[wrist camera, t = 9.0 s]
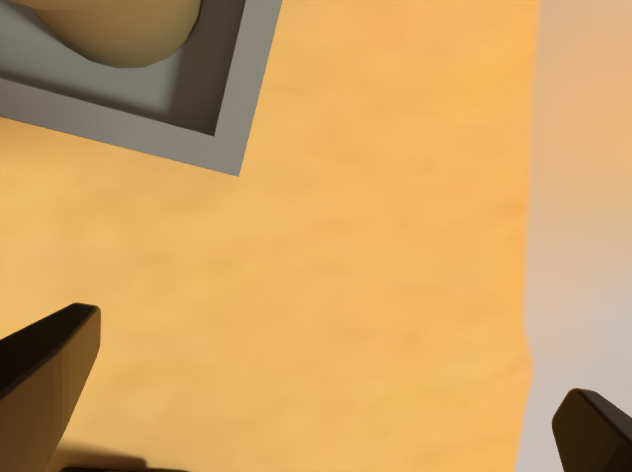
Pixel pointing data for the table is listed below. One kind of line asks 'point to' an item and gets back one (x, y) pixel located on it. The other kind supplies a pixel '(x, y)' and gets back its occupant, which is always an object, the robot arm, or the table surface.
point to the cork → (120, 28)
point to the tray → (145, 85)
